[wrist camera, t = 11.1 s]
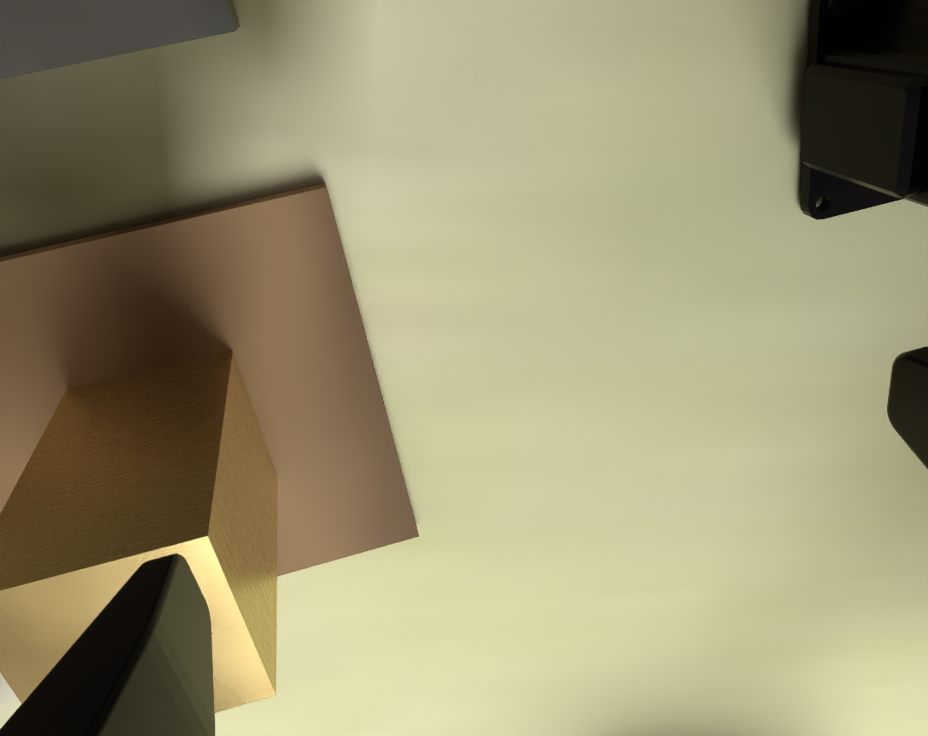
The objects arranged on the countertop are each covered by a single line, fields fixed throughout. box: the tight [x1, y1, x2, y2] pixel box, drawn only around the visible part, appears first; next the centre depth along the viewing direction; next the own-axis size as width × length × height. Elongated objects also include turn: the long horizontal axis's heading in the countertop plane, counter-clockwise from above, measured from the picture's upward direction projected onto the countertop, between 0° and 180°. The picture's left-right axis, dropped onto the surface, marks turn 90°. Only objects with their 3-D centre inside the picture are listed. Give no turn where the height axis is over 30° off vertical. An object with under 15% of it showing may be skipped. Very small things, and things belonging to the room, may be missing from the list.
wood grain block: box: [0, 350, 278, 713], centre depth 18 cm, size 4×4×8 cm
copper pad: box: [0, 183, 419, 576], centre depth 22 cm, size 12×12×1 cm
